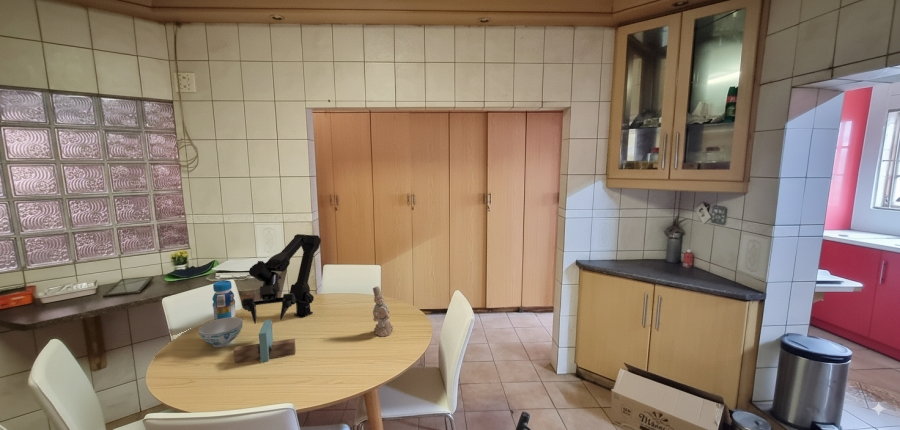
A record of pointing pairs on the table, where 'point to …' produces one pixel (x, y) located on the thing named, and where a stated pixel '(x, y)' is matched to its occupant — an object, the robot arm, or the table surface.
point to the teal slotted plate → (265, 340)
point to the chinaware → (221, 331)
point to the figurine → (381, 314)
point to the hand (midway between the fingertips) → (268, 321)
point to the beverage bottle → (223, 300)
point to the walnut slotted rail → (253, 351)
